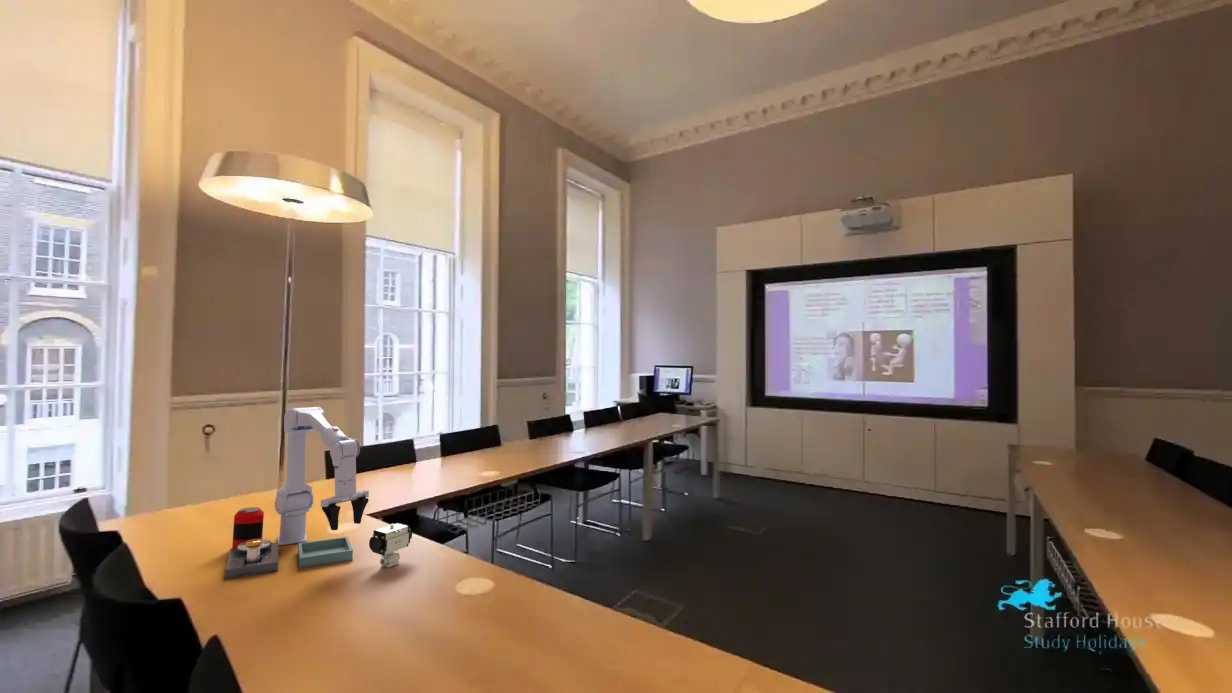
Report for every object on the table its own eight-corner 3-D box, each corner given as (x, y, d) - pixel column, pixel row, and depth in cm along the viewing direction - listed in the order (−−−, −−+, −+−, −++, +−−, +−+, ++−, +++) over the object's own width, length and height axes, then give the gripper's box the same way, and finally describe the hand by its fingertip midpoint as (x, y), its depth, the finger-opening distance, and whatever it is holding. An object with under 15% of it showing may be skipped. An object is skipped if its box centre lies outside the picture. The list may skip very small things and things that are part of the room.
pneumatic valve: (367, 570, 149) (369, 528, 149) (400, 557, 159) (402, 518, 159) (379, 574, 146) (382, 531, 146) (413, 561, 156) (415, 521, 157)
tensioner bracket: (229, 556, 154) (230, 538, 154) (277, 550, 160) (278, 532, 161) (224, 579, 139) (226, 558, 139) (277, 570, 145) (279, 551, 146)
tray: (297, 552, 159) (298, 543, 159) (347, 545, 166) (347, 536, 167) (299, 568, 148) (300, 557, 148) (352, 560, 155) (352, 550, 155)
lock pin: (244, 568, 146) (246, 540, 146) (260, 566, 148) (262, 538, 148) (243, 573, 143) (245, 544, 143) (260, 571, 145) (262, 542, 145)
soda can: (225, 551, 158) (228, 511, 159) (248, 542, 166) (251, 505, 166) (245, 554, 157) (247, 514, 157) (267, 545, 164) (270, 507, 164)
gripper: (332, 484, 147) (332, 533, 146) (375, 476, 160) (376, 521, 159) (315, 484, 150) (316, 532, 149) (359, 476, 163) (360, 520, 162)
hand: (346, 526), depth 154 cm, fingers open, 7 cm apart
